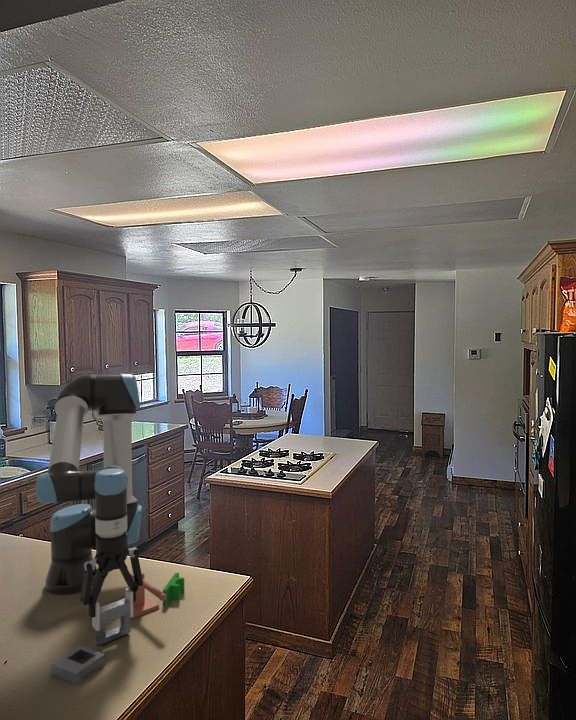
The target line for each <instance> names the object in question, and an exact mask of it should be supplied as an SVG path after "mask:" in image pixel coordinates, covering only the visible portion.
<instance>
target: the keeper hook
mask: <svg viewBox="0 0 576 720" xmlns="http://www.w3.org/2000/svg"><path fill="white" fill-rule="evenodd" d="M129 573H130V575H131V577H132V579H133V581H134V576H133V571H132V572H129ZM141 573H142V579H143V585H142V586H139V587H138V591H136V601H135V602H133V617H131V618H130V619H135V618H138V617H140V616H143V615H146V614H148V613H150V612H152V611H155V610H156V611H157V610H158V609H159V608H160V604H159V603H158V602H156V601H155V600H153V599H152V598H151V597H149V596H148V595H147V594H146V593H145V592H146V591H145V590H147V591H148V592H149V593H150V594H153V596H155V597H156V598H158V599H159V600H160V601H161V602H163V601H164V600H165V599H166V597H167V596H166V594H164V593H163V591H161V590H160V589H158V588H157V587H155V586H154V585H153V584H151V583H150V582H148V581H147V580H145V573H144V572H143V571H142V570H141ZM122 599H123V598H121V599H120V600H122Z"/></svg>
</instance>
